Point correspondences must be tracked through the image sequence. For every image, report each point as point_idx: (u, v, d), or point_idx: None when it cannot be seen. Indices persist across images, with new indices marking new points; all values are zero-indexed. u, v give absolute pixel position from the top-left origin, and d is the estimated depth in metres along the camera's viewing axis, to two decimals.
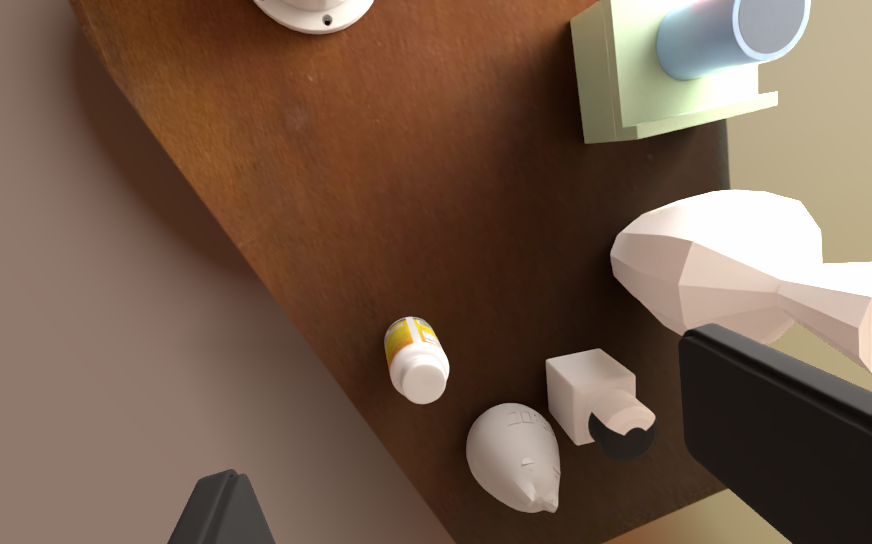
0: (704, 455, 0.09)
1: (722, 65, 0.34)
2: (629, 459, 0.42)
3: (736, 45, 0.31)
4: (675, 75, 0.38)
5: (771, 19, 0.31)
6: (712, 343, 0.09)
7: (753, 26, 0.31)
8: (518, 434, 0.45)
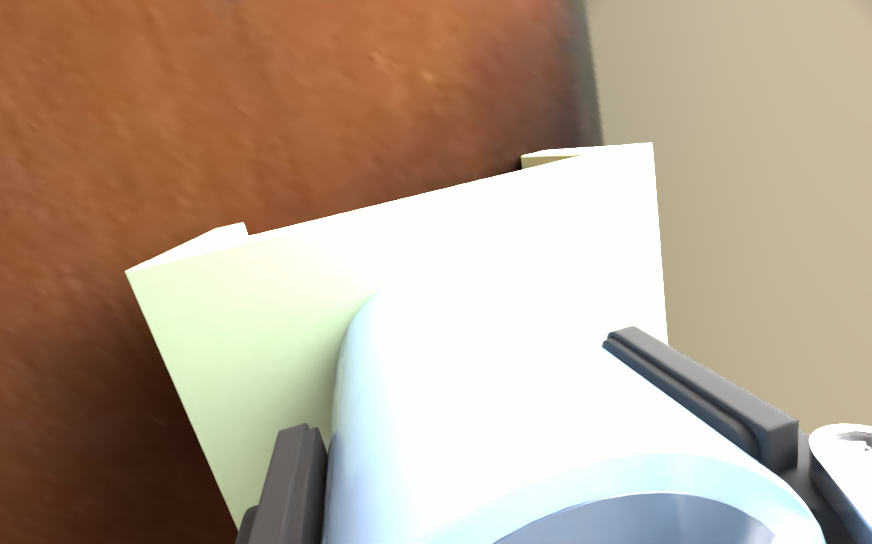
0: None
1: None
2: None
3: None
4: None
5: None
6: (628, 345, 0.09)
7: None
8: None
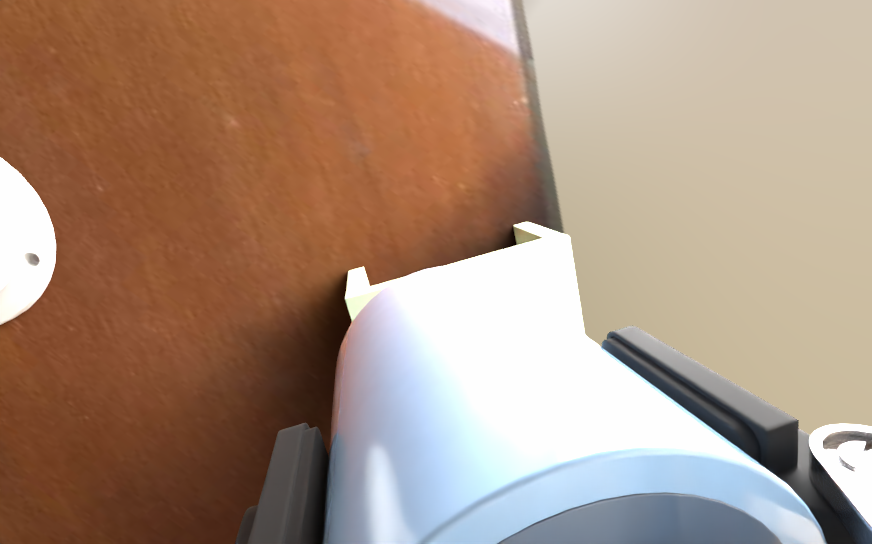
0: None
1: None
2: None
3: None
4: None
5: None
6: (628, 344, 0.09)
7: None
8: None
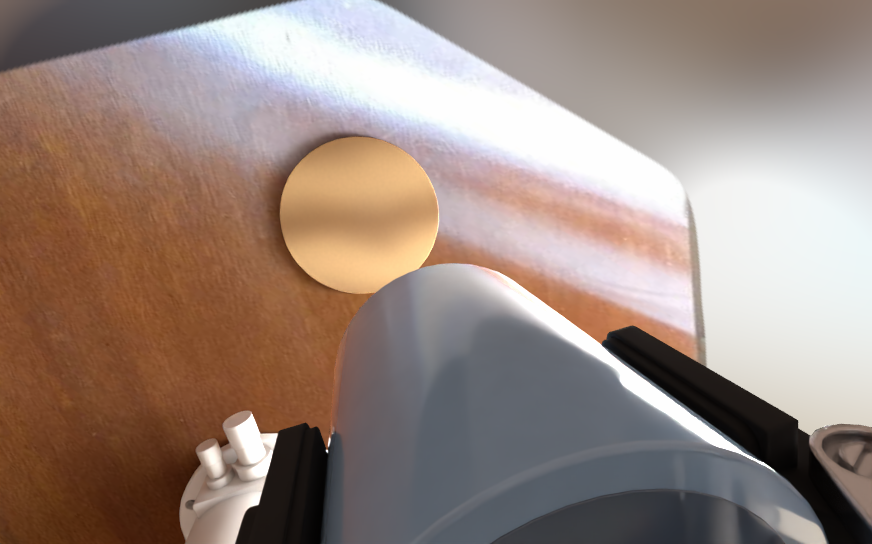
0: None
1: None
2: None
3: None
4: None
5: None
6: (628, 344, 0.09)
7: None
8: None
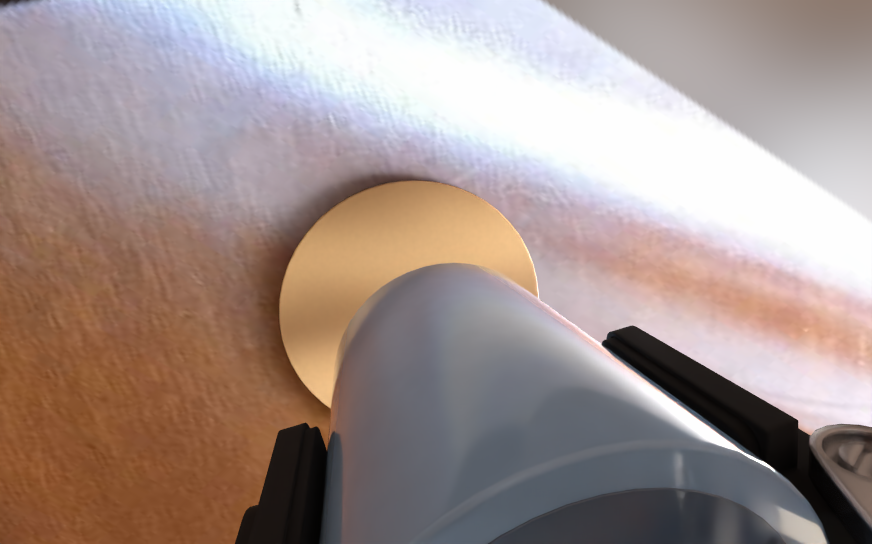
0: None
1: None
2: None
3: None
4: None
5: None
6: (628, 344, 0.09)
7: None
8: None
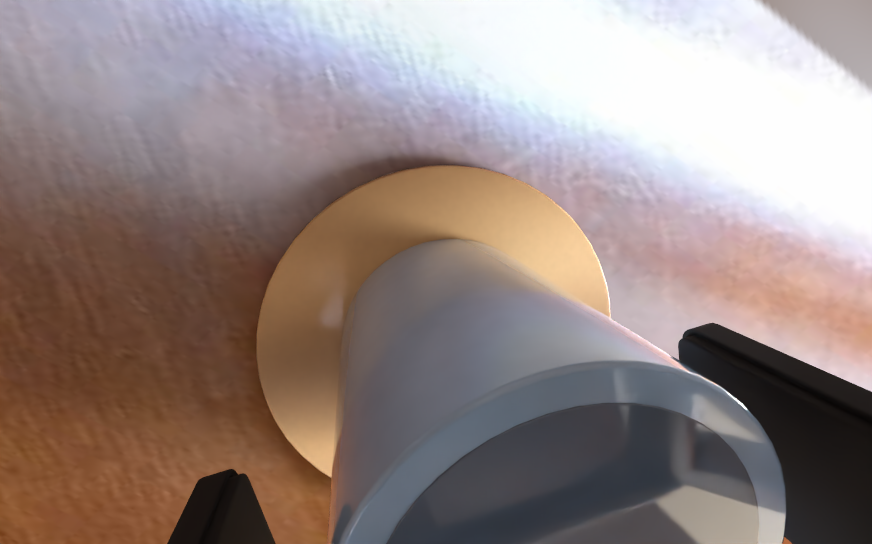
0: None
1: None
2: None
3: None
4: None
5: None
6: (711, 343, 0.09)
7: None
8: None
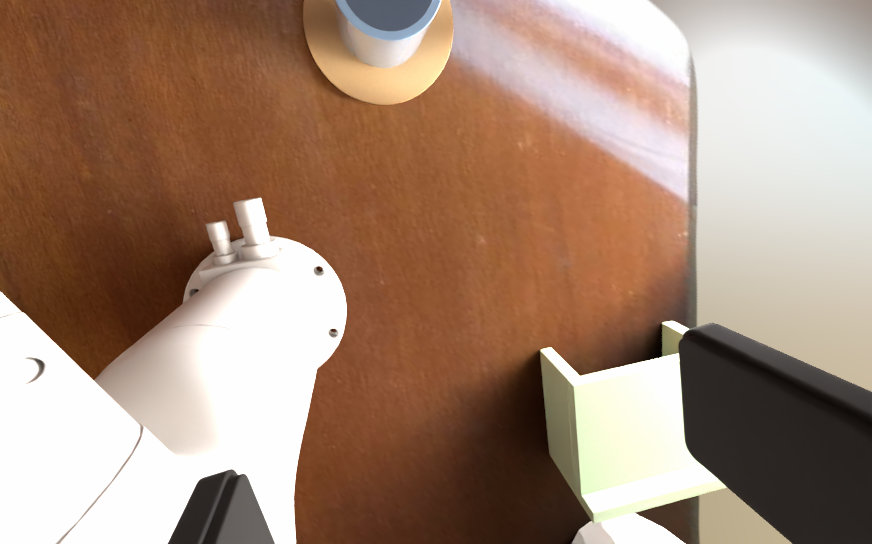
0: (704, 454, 0.09)
1: (365, 45, 0.27)
2: None
3: (345, 17, 0.25)
4: (361, 59, 0.32)
5: None
6: (712, 343, 0.09)
7: None
8: None
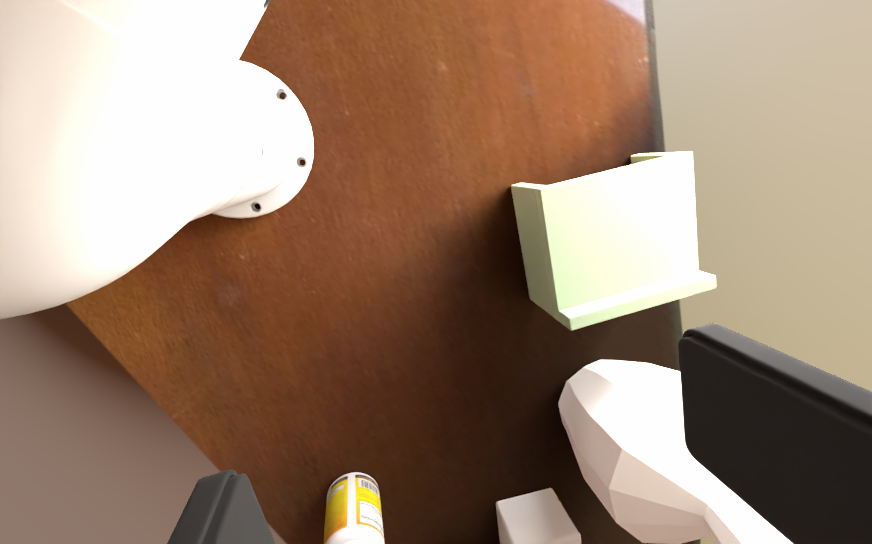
0: (704, 454, 0.09)
1: None
2: None
3: None
4: None
5: None
6: (712, 343, 0.09)
7: None
8: None
